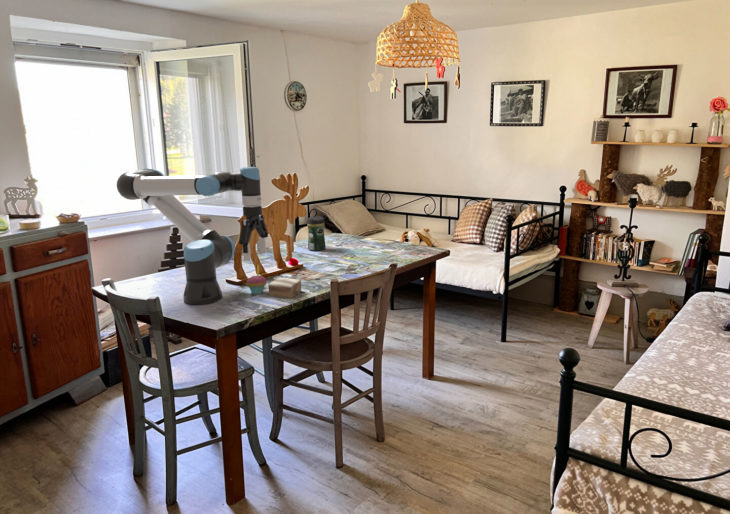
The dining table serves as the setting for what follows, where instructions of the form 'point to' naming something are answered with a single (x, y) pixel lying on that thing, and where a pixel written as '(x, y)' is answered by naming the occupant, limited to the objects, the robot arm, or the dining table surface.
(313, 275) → the dining table surface
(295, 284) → the pedestal
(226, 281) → the dining table surface
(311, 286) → the dining table surface
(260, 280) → the cupcake
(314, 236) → the coffee jar
